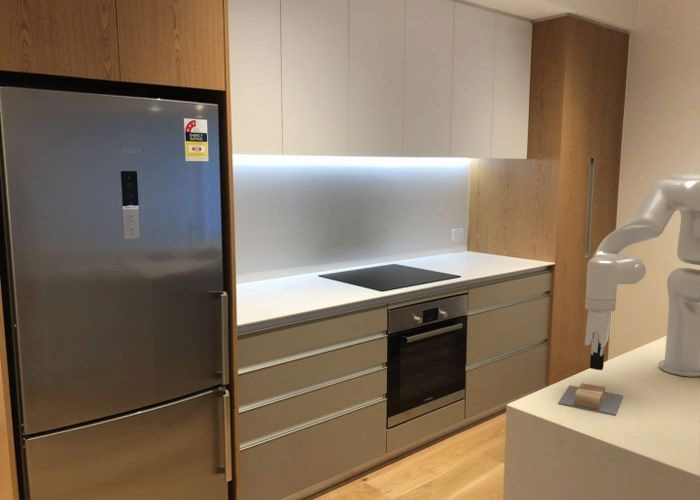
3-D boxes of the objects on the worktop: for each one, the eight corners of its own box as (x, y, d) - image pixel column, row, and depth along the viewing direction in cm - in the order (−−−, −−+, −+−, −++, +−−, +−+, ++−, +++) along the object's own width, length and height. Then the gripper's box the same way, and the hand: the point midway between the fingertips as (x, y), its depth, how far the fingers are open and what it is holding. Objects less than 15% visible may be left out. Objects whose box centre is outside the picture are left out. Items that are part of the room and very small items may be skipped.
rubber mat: (569, 386, 167) (569, 385, 167) (623, 396, 160) (623, 395, 160) (558, 403, 155) (558, 402, 155) (615, 415, 148) (615, 414, 148)
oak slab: (581, 382, 161) (575, 393, 153) (605, 387, 158) (599, 398, 150) (581, 393, 161) (574, 404, 154) (604, 398, 158) (598, 409, 150)
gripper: (590, 296, 166) (586, 358, 169) (580, 308, 154) (577, 374, 157) (619, 299, 163) (615, 362, 165) (611, 311, 150) (607, 380, 153)
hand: (596, 368), depth 161 cm, fingers closed
